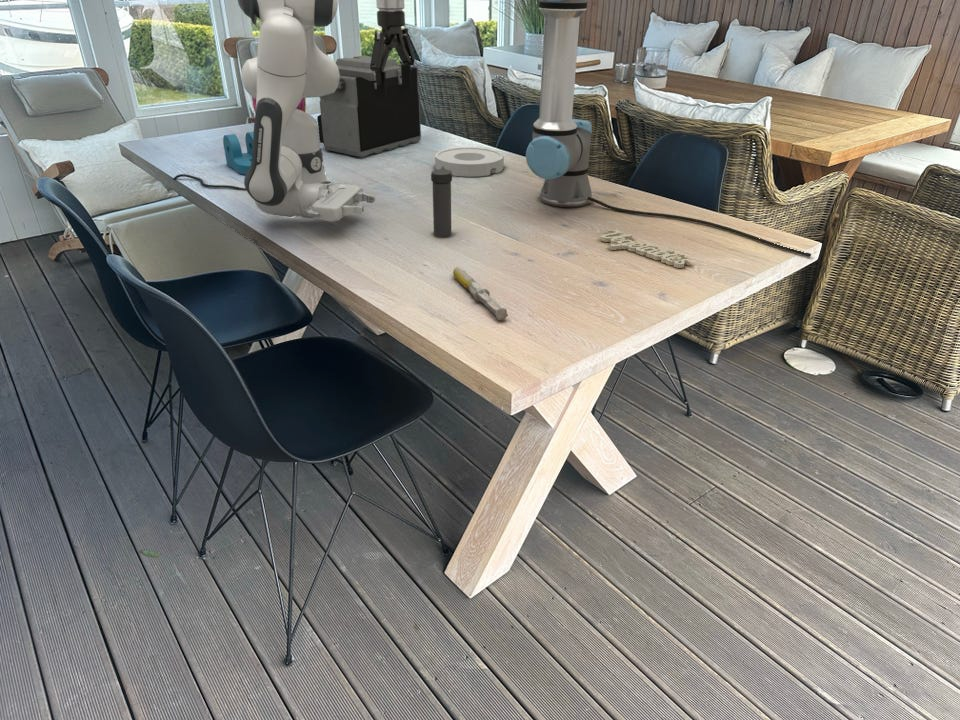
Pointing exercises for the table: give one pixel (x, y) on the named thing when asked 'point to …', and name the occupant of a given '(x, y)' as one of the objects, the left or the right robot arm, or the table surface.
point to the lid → (441, 176)
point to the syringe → (479, 293)
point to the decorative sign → (644, 249)
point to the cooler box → (369, 110)
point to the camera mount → (238, 152)
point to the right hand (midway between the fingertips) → (394, 93)
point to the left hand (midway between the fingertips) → (368, 204)
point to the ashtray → (469, 161)
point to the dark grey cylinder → (442, 209)
